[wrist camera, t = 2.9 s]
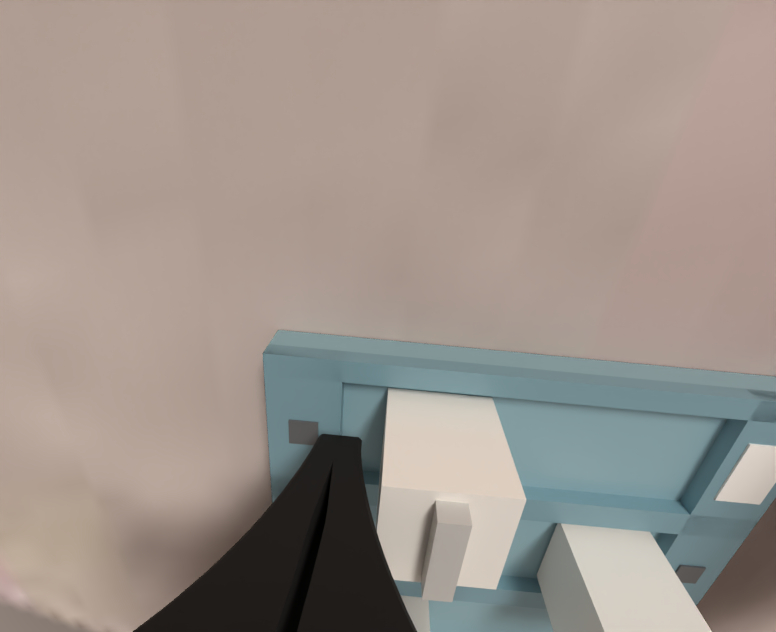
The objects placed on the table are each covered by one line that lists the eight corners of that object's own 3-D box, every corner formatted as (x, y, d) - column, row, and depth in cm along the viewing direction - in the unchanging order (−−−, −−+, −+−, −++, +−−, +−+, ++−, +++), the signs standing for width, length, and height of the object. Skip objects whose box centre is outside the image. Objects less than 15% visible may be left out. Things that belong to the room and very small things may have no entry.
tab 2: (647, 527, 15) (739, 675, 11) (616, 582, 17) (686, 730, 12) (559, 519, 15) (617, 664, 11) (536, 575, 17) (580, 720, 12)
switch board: (793, 378, 13) (843, 409, 12) (624, 642, 20) (642, 682, 19) (278, 330, 13) (261, 354, 12) (290, 610, 20) (280, 648, 19)
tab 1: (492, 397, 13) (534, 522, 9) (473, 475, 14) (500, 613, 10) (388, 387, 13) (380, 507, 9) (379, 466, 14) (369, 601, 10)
